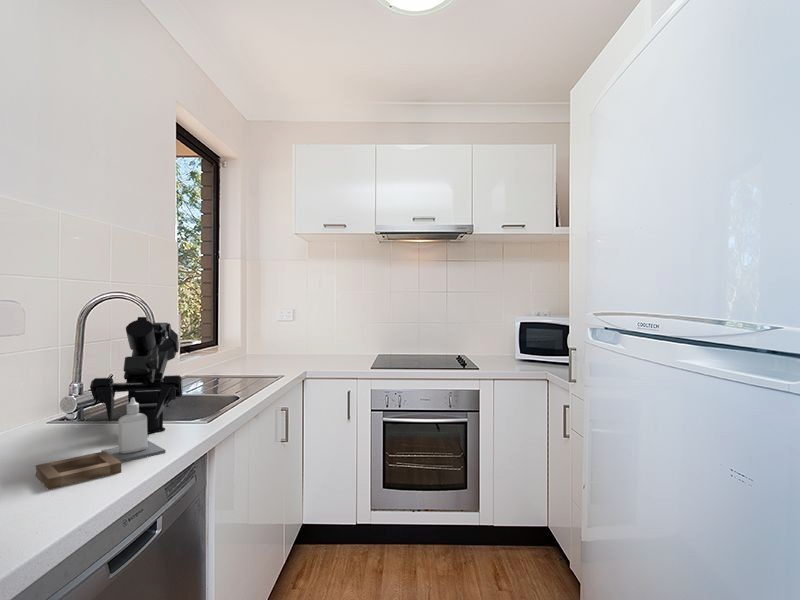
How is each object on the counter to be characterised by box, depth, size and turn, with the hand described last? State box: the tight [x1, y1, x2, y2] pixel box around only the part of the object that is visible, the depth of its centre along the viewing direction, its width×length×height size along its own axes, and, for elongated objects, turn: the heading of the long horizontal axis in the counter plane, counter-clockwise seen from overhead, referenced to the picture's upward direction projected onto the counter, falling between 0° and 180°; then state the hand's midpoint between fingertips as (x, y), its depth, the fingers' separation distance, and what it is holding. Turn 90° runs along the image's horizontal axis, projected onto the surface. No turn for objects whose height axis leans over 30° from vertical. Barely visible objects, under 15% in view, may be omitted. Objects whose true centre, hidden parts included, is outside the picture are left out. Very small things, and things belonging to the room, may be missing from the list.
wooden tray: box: [35, 451, 123, 490], centre depth 91 cm, size 12×10×2 cm
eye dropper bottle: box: [117, 398, 148, 454], centre depth 104 cm, size 4×6×12 cm
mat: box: [100, 440, 166, 463], centre depth 104 cm, size 10×10×1 cm
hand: (133, 418), depth 103 cm, fingers open, 9 cm apart
